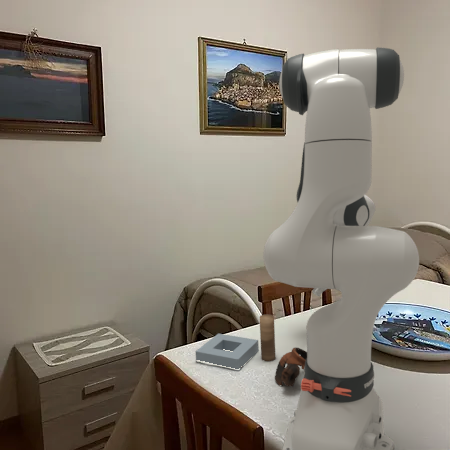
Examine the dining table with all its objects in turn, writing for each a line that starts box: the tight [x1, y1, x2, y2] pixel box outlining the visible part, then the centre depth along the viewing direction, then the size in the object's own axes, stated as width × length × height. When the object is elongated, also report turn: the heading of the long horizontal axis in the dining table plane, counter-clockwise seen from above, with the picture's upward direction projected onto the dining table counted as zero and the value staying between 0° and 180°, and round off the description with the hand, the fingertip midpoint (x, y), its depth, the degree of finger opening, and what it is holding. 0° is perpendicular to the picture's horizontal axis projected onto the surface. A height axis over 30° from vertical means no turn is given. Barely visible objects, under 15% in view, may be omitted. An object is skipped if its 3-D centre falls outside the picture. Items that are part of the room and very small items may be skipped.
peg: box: [259, 313, 277, 362], centre depth 115 cm, size 4×4×11 cm
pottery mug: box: [274, 347, 307, 387], centre depth 102 cm, size 12×9×8 cm
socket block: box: [195, 333, 260, 369], centre depth 117 cm, size 12×12×3 cm
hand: (303, 289), depth 118 cm, fingers open, 8 cm apart
